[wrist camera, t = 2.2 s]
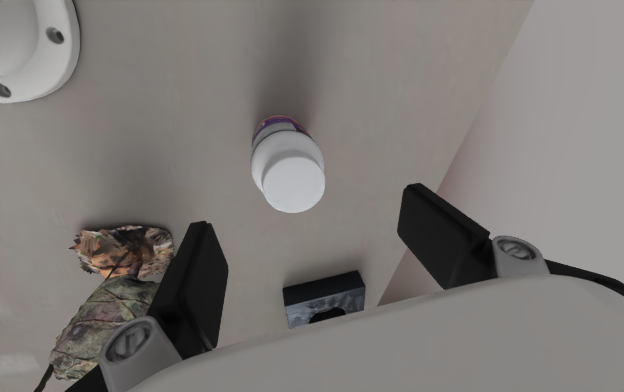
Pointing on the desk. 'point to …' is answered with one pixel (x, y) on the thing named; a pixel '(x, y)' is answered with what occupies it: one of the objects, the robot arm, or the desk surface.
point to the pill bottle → (287, 164)
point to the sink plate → (324, 299)
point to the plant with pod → (109, 293)
